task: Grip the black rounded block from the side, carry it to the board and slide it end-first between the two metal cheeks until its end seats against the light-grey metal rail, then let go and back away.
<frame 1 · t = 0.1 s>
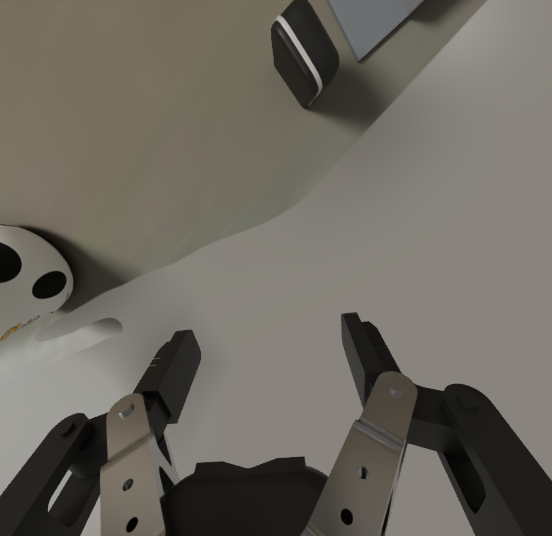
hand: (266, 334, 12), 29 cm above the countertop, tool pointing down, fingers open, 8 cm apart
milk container: (35, 264, 44), on the countertop
black rounded block: (299, 77, 31), on the countertop
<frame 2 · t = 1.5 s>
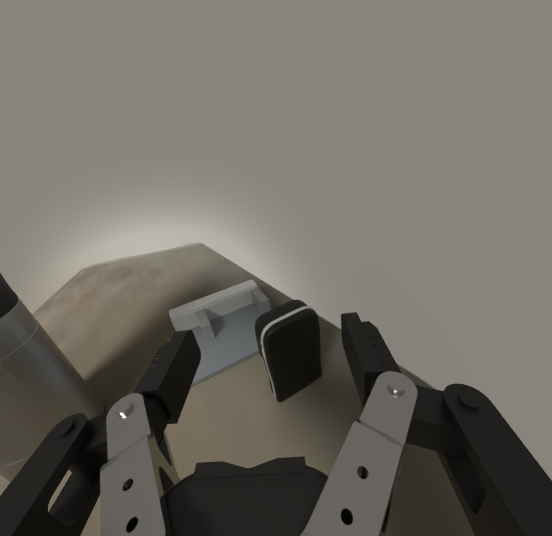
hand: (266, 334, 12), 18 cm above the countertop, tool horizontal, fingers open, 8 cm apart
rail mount: (233, 315, 44), on the countertop
black rounded block: (293, 380, 30), on the countertop
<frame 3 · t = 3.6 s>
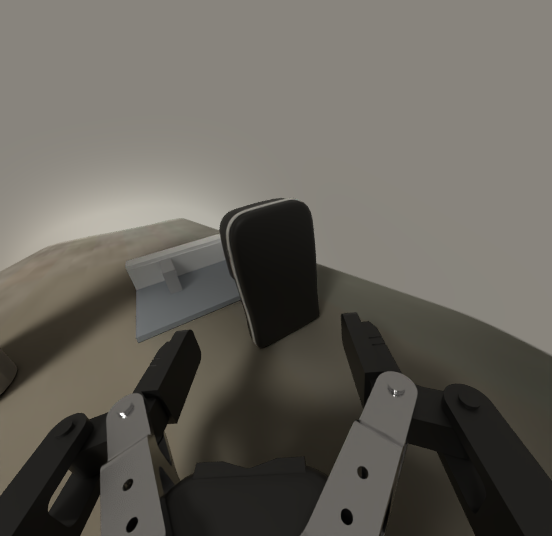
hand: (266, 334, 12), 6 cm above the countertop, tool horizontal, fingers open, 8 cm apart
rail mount: (209, 270, 36), on the countertop
black rounded block: (282, 325, 22), on the countertop
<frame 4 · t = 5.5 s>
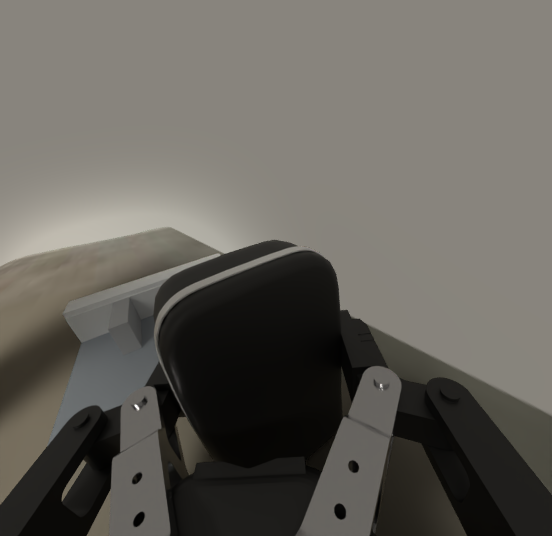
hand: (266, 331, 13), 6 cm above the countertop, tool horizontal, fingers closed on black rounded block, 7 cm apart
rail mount: (185, 309, 27), on the countertop
black rounded block: (281, 437, 14), on the countertop, touching gripper
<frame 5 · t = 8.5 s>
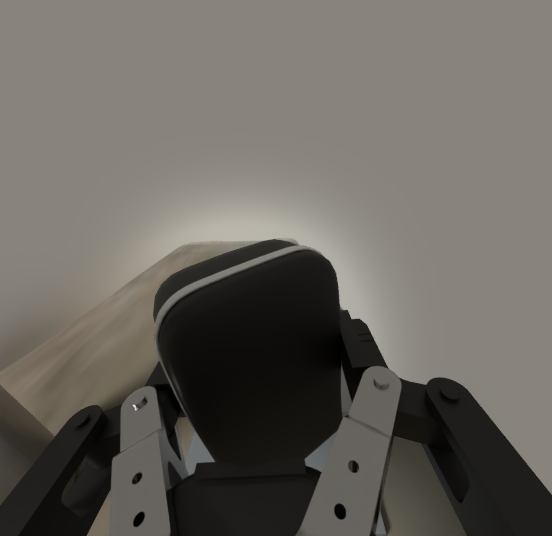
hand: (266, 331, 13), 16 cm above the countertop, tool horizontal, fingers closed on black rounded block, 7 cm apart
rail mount: (291, 393, 26), on the countertop
black rounded block: (280, 437, 14), point 10 cm above the countertop, touching gripper
when the fingers open (7 cm above the countertop, at t = 11.4 s): black rounded block stays where it is, resting on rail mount.
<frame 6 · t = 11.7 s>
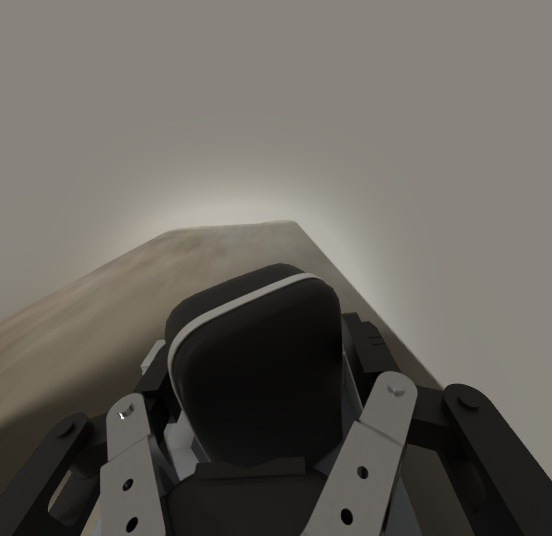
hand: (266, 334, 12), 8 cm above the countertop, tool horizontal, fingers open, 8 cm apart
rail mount: (285, 400, 17), on the countertop
black rounded block: (282, 450, 14), resting on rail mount
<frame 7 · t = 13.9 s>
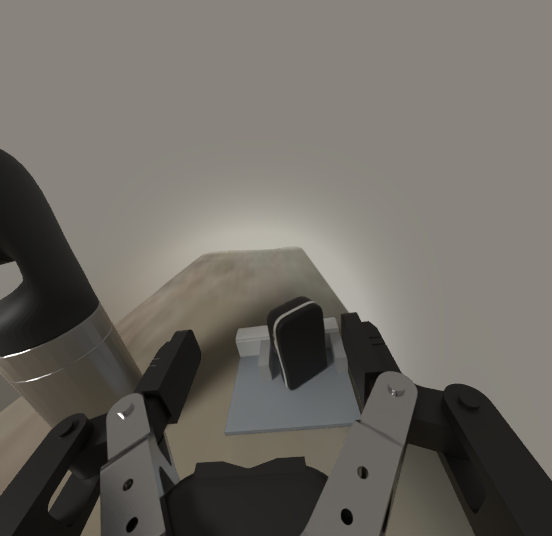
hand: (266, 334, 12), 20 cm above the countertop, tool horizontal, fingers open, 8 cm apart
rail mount: (302, 355, 37), on the countertop
black rounded block: (302, 371, 34), resting on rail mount
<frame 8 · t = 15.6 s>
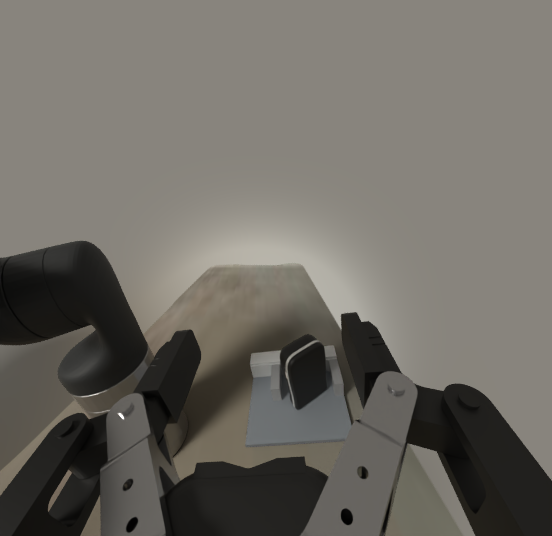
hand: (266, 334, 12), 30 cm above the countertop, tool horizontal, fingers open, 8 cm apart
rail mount: (305, 377, 44), on the countertop
black rounded block: (306, 392, 41), resting on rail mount
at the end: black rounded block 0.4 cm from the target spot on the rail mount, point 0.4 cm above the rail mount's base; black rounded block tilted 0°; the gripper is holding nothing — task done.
